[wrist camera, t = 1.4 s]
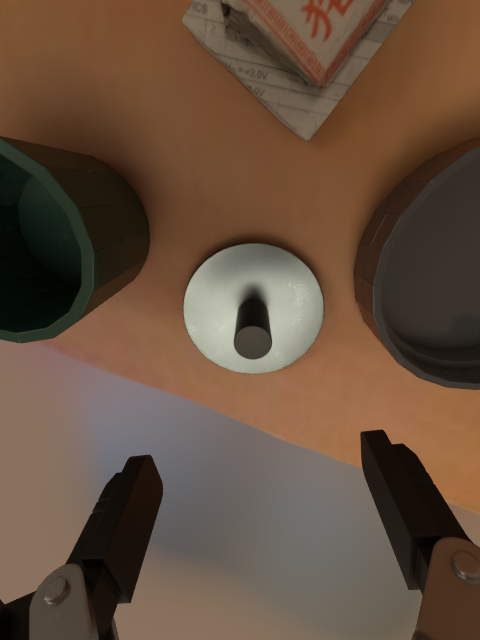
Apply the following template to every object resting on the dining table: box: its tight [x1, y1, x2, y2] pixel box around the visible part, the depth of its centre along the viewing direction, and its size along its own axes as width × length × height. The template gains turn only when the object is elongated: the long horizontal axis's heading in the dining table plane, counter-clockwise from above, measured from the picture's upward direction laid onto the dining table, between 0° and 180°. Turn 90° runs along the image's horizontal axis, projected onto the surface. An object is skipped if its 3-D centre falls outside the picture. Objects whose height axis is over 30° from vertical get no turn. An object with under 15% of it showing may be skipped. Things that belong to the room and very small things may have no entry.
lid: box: [183, 242, 324, 374], centre depth 23 cm, size 12×12×6 cm
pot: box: [0, 136, 150, 343], centre depth 19 cm, size 11×11×9 cm
